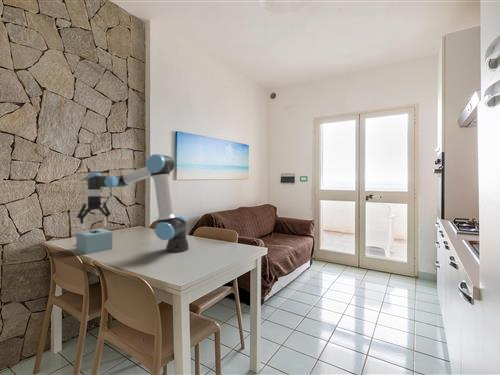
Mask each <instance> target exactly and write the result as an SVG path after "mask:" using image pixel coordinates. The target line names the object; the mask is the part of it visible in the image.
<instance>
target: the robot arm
mask: <svg viewBox="0 0 500 375" xmlns="http://www.w3.org/2000/svg"><path fill="white" fill-rule="evenodd" d="M145 161H146V162H145V166H144V167H142V168H138V169H136V170H133V171H129V172H127V173H125V174H122V175H101V173H100V172H88V173H87V203H82V206H81V208H80V210H79V212H78V214H77V215H76V218H78V219H79V220H80V225H81V229H83V230H84V229H86V225H85V224H86V219H85V217H86V216H87V215H88V213H89V212H90V211H92V210H94V211H95V210H98V211H99V212H101V213H102V215H103V226H104V227H107V222H108V220H109V216H111V212H110V209H108V206H107V203H106V202H103V201H102V200H101V199H102V198H101V196H102V194H101V193H102V188H110V189H111V188H118V187H119V188H123V187H124V188H125V187H127V186H128V185H129V184H133V183H136V182H139V181H142V180H145V179H149V178H152V179H153V181H154V188H155V196H156V204H157V210H158V218H156V222H157V224H156V226H155V227H154V232H155V235H156V236H157V238H158V239H160V240H162V241H167V240H168V241H167V242H166V243H167V244H166V245H165V251H166V250H167V251H166V252H169V251H171V252H170V253H181V252H180V251H182V252H186V251H188V250H189V249H190V248H189V246H190V245H189V242H188V239H187V222H188V221H187V217H186V216H178V215H177V216H176V215H175V214H174V212H173V206H172V197H171V190H170V189H171V188H170V182H169V181H170V180H169V177H170V176H171V172H172V171H173V170H174V169H175V166H176V164H175V163H176V162H175V160H174V159H173V158H172V157H171V156H169V155H164V154H159V153H155V154H154V153H153V154H151V155H150V156H148V158H147V159H146V160H145ZM101 201H102V202H101ZM101 206H102V207H103V208H102V207H101ZM185 250H186V251H185Z"/></svg>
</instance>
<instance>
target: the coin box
mask: <svg viewBox="0 0 500 375" xmlns="http://www.w3.org/2000/svg"><path fill="white" fill-rule="evenodd" d="M105 229H106V228H95V229H88V230H81V231H76V234H75V235H76V237H75V238H76V244H75V245H76V248H75V249H76V251H79V252H81V253H83V254H85V255H89V254H90V255H91V254H94V253H99V252H103V251H104V252H105V251H109V250H113V231H111V230H108V229H106V230H105Z"/></svg>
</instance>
